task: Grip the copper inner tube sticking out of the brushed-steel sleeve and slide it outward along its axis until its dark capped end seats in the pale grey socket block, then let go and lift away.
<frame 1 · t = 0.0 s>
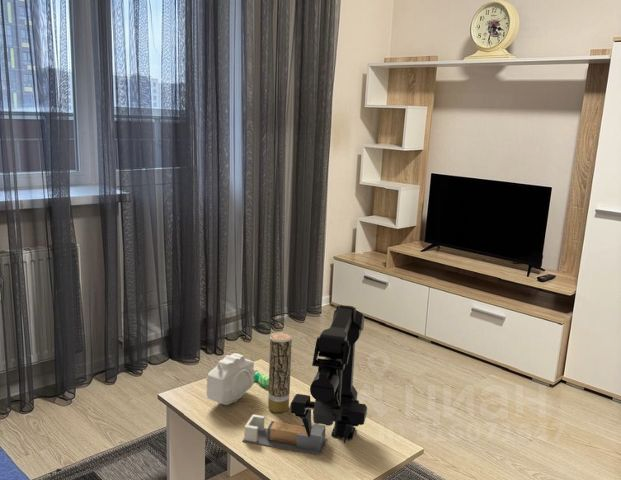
hand: (326, 439, 149), 15 cm above the table, fingers open, 9 cm apart
socket: (255, 435, 175), resting on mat
camera: (232, 401, 195), on the table
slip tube: (293, 434, 172), point 2 cm above the table, slide at 0.0 cm
candy: (264, 386, 207), on the table
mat: (284, 440, 173), on the table
sleeve: (310, 445, 172), resting on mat
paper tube: (278, 408, 191), on the table
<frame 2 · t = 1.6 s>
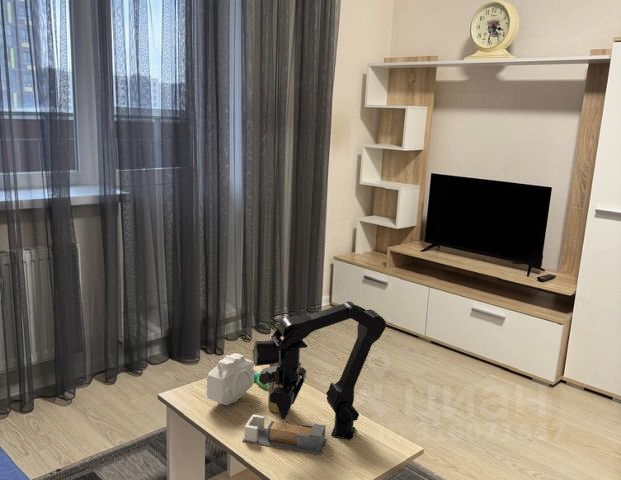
hand: (287, 411, 171), 10 cm above the table, fingers open, 9 cm apart
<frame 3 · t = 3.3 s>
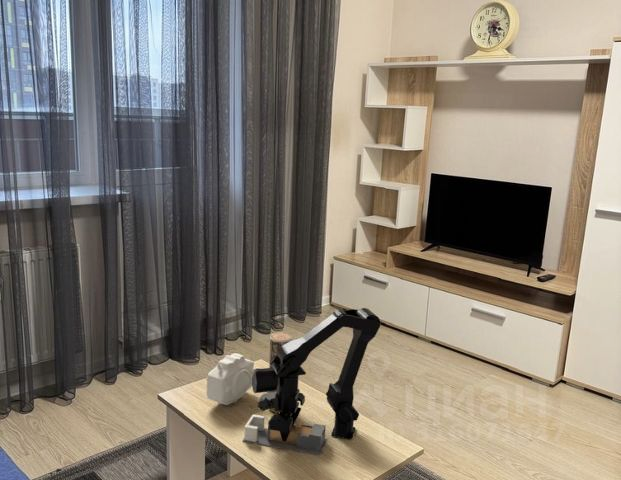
hand: (286, 436, 173), 1 cm above the table, fingers closed on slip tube, 4 cm apart
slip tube: (293, 434, 172), point 3 cm above the table, slide at 0.0 cm, touching gripper
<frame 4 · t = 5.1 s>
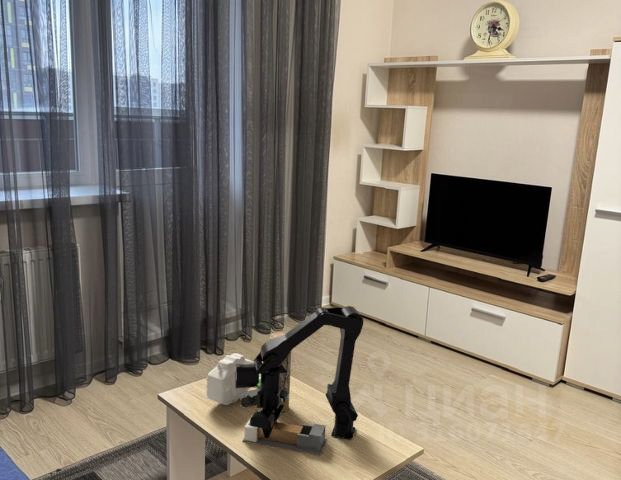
hand: (268, 433, 174), 1 cm above the table, fingers closed on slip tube, 4 cm apart
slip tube: (276, 431, 173), point 2 cm above the table, slide at 5.3 cm, touching gripper
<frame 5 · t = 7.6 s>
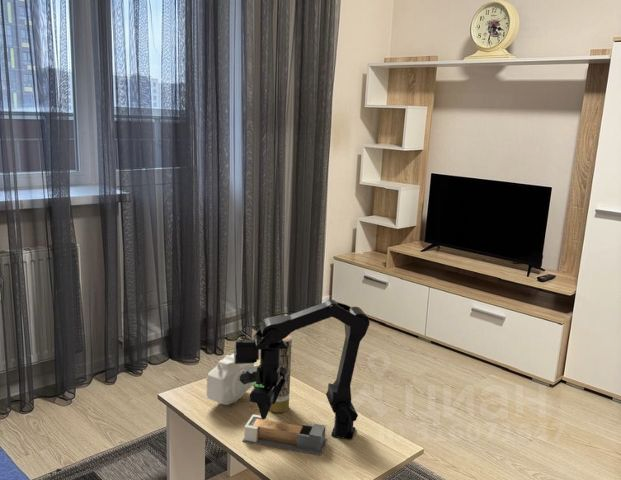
hand: (268, 411, 172), 9 cm above the table, fingers open, 9 cm apart
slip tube: (276, 431, 173), point 3 cm above the table, slide at 5.5 cm
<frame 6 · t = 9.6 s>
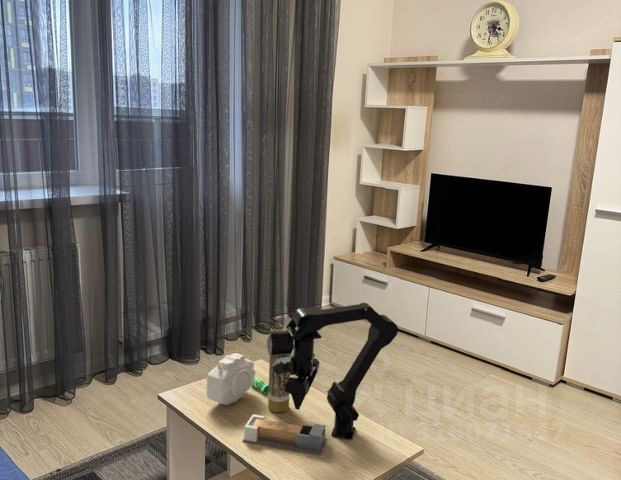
hand: (301, 401, 172), 12 cm above the table, fingers open, 9 cm apart
at the end: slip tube slide at 5.5 cm; the gripper is holding nothing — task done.
